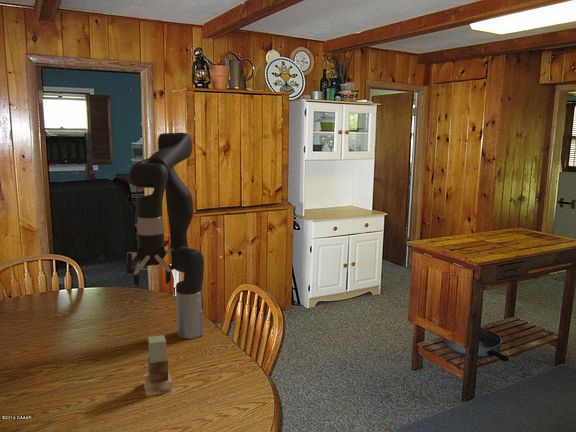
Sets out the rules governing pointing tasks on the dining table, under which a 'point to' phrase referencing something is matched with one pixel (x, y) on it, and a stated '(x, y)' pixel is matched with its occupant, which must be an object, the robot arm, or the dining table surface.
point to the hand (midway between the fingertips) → (152, 284)
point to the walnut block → (158, 371)
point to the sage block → (157, 349)
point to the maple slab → (157, 385)
